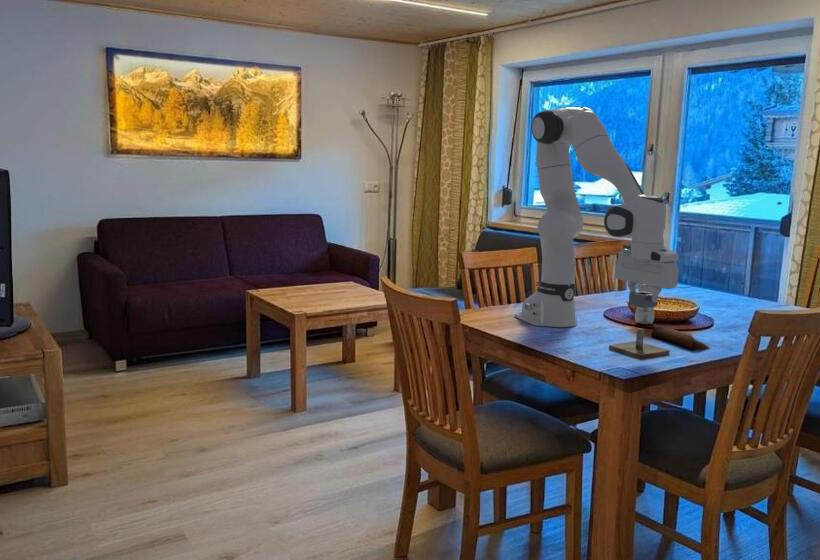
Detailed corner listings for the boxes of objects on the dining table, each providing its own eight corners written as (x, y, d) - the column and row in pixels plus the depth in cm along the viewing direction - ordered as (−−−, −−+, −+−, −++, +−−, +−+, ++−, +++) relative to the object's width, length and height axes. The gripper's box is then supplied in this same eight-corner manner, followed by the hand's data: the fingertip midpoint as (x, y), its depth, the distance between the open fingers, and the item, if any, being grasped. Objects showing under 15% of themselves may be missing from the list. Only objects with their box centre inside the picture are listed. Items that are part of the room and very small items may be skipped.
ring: (628, 304, 209) (629, 292, 209) (641, 303, 212) (642, 291, 211) (643, 308, 204) (644, 295, 204) (657, 306, 207) (657, 294, 207)
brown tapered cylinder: (713, 348, 216) (706, 330, 214) (697, 361, 215) (690, 344, 212) (670, 334, 233) (664, 318, 230) (655, 347, 231) (648, 330, 229)
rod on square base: (608, 349, 213) (610, 326, 211) (636, 344, 219) (638, 322, 218) (640, 359, 202) (642, 335, 201) (669, 354, 209) (671, 331, 208)
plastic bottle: (632, 324, 246) (637, 267, 243) (636, 321, 252) (640, 264, 249) (651, 327, 243) (657, 268, 240) (655, 323, 249) (660, 266, 246)
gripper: (611, 248, 213) (608, 294, 215) (668, 256, 196) (664, 306, 198) (626, 247, 216) (623, 292, 218) (683, 255, 199) (679, 304, 201)
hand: (643, 299), depth 208 cm, fingers closed on ring, 6 cm apart
